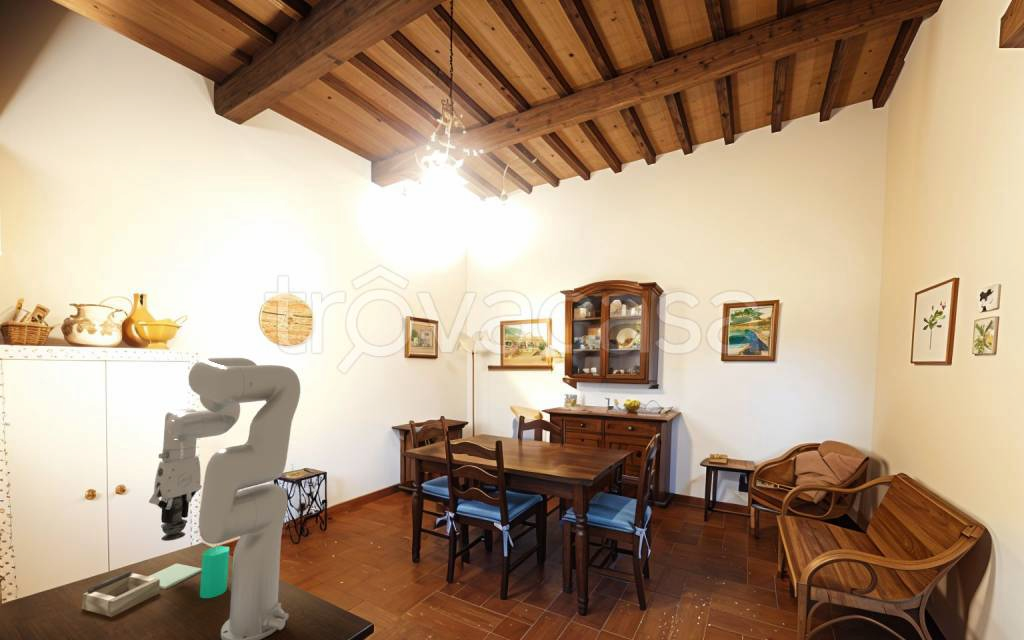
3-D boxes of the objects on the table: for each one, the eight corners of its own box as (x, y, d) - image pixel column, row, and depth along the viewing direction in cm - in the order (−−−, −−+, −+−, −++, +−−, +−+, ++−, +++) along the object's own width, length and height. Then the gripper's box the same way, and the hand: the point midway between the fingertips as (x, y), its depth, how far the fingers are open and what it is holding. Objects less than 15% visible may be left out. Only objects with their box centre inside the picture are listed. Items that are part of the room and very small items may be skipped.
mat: (202, 570, 123) (202, 568, 123) (165, 589, 114) (165, 587, 114) (176, 565, 126) (176, 563, 126) (138, 583, 116) (138, 580, 116)
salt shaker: (165, 533, 123) (168, 490, 123) (190, 531, 124) (192, 488, 125) (155, 542, 117) (159, 497, 118) (181, 539, 119) (184, 495, 119)
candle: (213, 599, 109) (216, 551, 110) (193, 596, 110) (196, 548, 111) (232, 587, 115) (235, 541, 116) (213, 584, 116) (216, 538, 117)
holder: (158, 593, 112) (160, 575, 112) (111, 616, 102) (113, 597, 102) (130, 586, 115) (131, 568, 115) (81, 608, 105) (83, 589, 105)
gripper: (157, 462, 113) (152, 533, 112) (216, 448, 129) (212, 511, 128) (137, 459, 115) (132, 529, 114) (198, 446, 131) (193, 507, 130)
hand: (174, 519), depth 121 cm, fingers closed on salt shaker, 3 cm apart
